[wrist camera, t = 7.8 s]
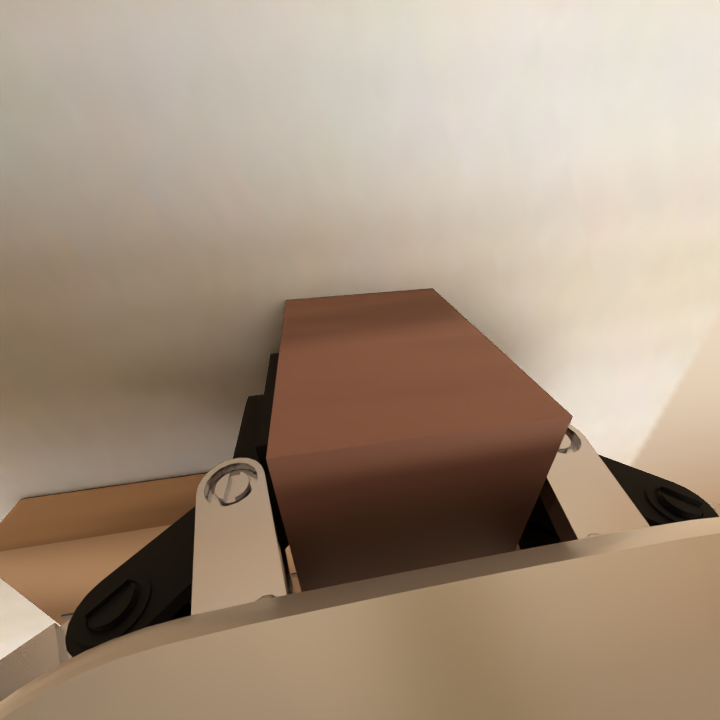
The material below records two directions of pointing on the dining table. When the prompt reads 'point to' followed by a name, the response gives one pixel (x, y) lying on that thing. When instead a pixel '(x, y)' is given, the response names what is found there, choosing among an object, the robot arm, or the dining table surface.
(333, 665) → the robot arm
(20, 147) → the dining table surface
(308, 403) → the brown boxy block
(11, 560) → the board
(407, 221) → the dining table surface
